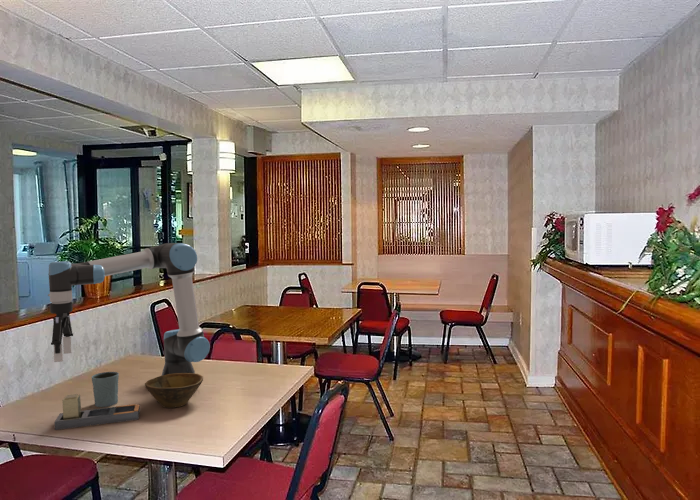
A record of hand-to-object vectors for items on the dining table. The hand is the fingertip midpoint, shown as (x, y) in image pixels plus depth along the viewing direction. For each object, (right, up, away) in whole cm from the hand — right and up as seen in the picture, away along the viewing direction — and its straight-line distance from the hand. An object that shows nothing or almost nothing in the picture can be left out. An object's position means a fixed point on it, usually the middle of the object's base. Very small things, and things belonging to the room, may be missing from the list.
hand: (63, 357), depth 203 cm
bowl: (+39, -22, +13) cm, 46 cm away
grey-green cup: (+9, -22, +16) cm, 29 cm away
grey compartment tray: (+15, -23, -4) cm, 28 cm away
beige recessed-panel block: (+7, -23, -6) cm, 25 cm away
